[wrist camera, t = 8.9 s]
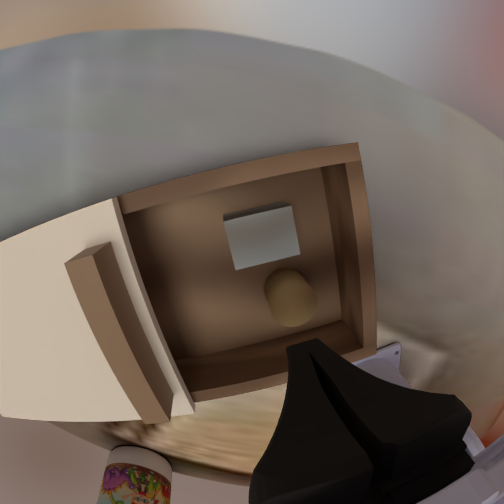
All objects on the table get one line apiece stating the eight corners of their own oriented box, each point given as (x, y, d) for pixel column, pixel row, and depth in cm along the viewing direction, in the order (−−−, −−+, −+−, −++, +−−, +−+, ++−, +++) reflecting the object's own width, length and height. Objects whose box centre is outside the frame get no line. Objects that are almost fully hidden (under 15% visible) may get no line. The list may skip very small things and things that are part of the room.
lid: (195, 405, 18) (193, 440, 15) (5, 411, 17) (-8, 432, 14) (116, 196, 14) (92, 204, 11) (-65, 275, 13) (-88, 289, 10)
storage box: (350, 321, 23) (376, 354, 19) (122, 372, 23) (107, 411, 18) (326, 147, 19) (357, 142, 15) (59, 217, 18) (22, 232, 14)
